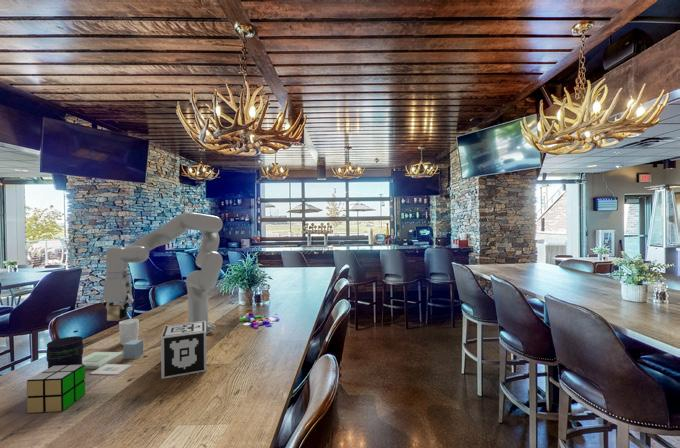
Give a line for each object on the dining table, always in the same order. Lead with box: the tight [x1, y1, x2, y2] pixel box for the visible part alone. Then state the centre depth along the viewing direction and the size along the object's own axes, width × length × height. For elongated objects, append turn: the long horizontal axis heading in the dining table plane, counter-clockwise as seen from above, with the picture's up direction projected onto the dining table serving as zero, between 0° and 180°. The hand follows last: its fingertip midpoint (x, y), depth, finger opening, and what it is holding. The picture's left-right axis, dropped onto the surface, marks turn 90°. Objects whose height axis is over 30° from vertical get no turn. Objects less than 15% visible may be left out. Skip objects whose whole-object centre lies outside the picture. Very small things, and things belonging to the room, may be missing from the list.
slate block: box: [122, 339, 144, 360], centre depth 136 cm, size 5×5×6 cm
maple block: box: [106, 303, 128, 322], centre depth 139 cm, size 5×5×6 cm
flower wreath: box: [239, 312, 280, 330], centre depth 184 cm, size 25×20×4 cm
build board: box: [82, 351, 123, 370], centre depth 131 cm, size 13×13×1 cm
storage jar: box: [46, 330, 84, 369], centre depth 113 cm, size 10×10×18 cm
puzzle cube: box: [26, 365, 86, 414], centre depth 100 cm, size 10×10×10 cm
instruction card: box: [89, 363, 133, 376], centre depth 123 cm, size 11×8×1 cm
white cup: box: [118, 318, 140, 346], centre depth 152 cm, size 8×8×10 cm
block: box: [160, 321, 207, 380], centre depth 126 cm, size 15×15×15 cm
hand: (116, 317), depth 139 cm, fingers closed on maple block, 5 cm apart
